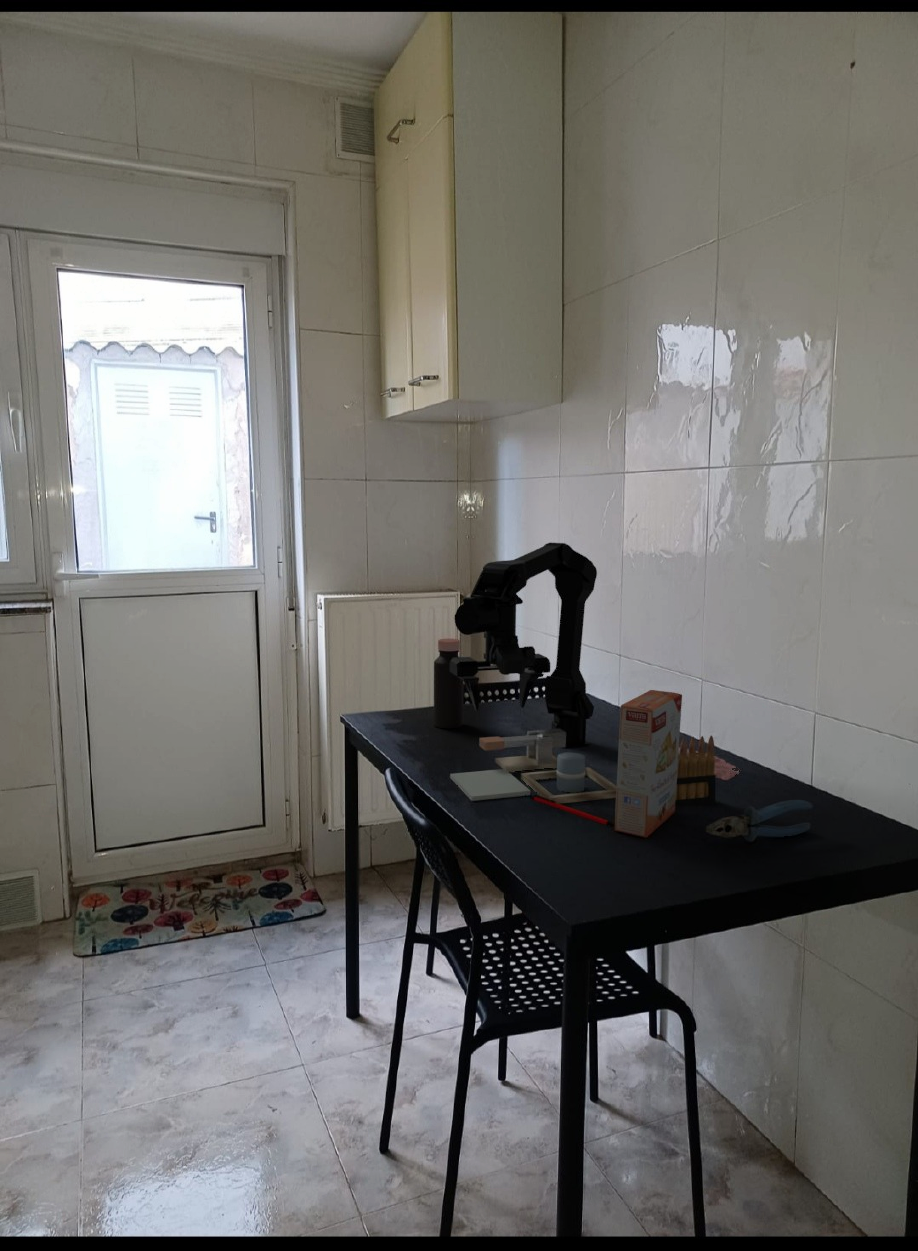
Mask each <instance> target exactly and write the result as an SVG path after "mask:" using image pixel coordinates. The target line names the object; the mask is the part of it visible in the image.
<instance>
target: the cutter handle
mask: <svg viewBox="0 0 918 1251" xmlns="http://www.w3.org/2000/svg"><path fill="white" fill-rule="evenodd" d="M536 731H537V735H527V734H526V735H516V736H514V735H513V736H504V737H500V736H487V737H479V745H478V746H479V747H480V748H481V749H482V750H484V751H497V750H505V749H506V748H517V747H527V746H531V745H536V738H542V737H552V738H553V746H552V749H557V748H559V749H560V748H567V747H566V732H565V731H563V730H562V729H552V728H549V729H548V728H547V729H537V730H536Z"/></svg>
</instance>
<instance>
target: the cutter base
mask: <svg viewBox="0 0 918 1251" xmlns="http://www.w3.org/2000/svg"><path fill="white" fill-rule="evenodd" d="M526 735H537V730H527V731H526ZM552 746H553V738H552V737H542V738H536V745H531V746H526V755H517V756H507V757H495V758H494V762H495V763H496V764H497V765H498V766H499V767H500V769H506V770H507V771H508V772H510V773H516V772H515V771H521V772H523V771H522V770H532V771H535V770H534V769H543V770H545V769H544V768H553V769H557V756H555V755H554V754H553V748H552Z"/></svg>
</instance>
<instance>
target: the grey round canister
mask: <svg viewBox="0 0 918 1251" xmlns="http://www.w3.org/2000/svg"><path fill="white" fill-rule="evenodd" d="M556 758H557V768H556V770H557V778H556V790H558V791H560V792H562V791H564V792H563V793H567V792H570V793H569V794H573V793H577V792H578V793H582V792H583V791H584V790H585V777H586V775H585V767H586V756H585V755H584V754H582V753H578V752H577V753H576V752H562V753H559V754H558V755H557V756H556ZM581 791H582V792H581Z"/></svg>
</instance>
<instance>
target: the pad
mask: <svg viewBox="0 0 918 1251" xmlns="http://www.w3.org/2000/svg"><path fill="white" fill-rule="evenodd" d="M449 775H450V776H449V778H450V779H451V780H452V781H453V783H454V784H455V785H456V786H457V785H458V786H457V787H458V788H459V789H460V790H461V791H462V792H463V793H464V794H465V795H466V797H468V799H469V800H470V801H471V802H475V801H483V800H494V799H504V798H514V797H515V798H516V797H522V796H523V797H524V796H525V795H526V796H529V795H530V796H531V790H530V789H529V787H526V785H524V784H523V783H522V782H521V781H520V780H519V779H517V777H515V776H514V775H513V774H512V773H511V772H510V773H509V772H508V771H507V770H506V769H503V768H500V769H489V770H480V771H479V770H478V771H470V772H469V771H467V772H457V773H456V772H455V773H450V774H449ZM526 796H525V797H526Z"/></svg>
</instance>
